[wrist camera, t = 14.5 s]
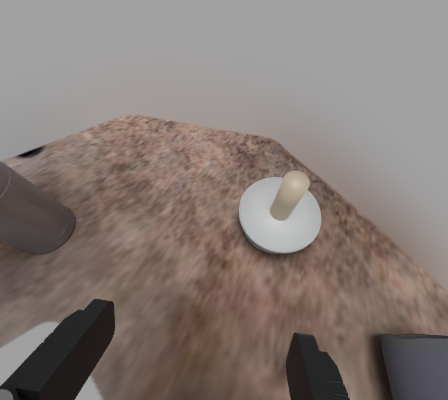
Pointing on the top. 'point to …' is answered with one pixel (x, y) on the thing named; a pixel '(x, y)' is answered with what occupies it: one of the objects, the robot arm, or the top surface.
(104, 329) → the robot arm
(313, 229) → the lid
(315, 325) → the top surface
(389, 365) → the bluetooth speaker
